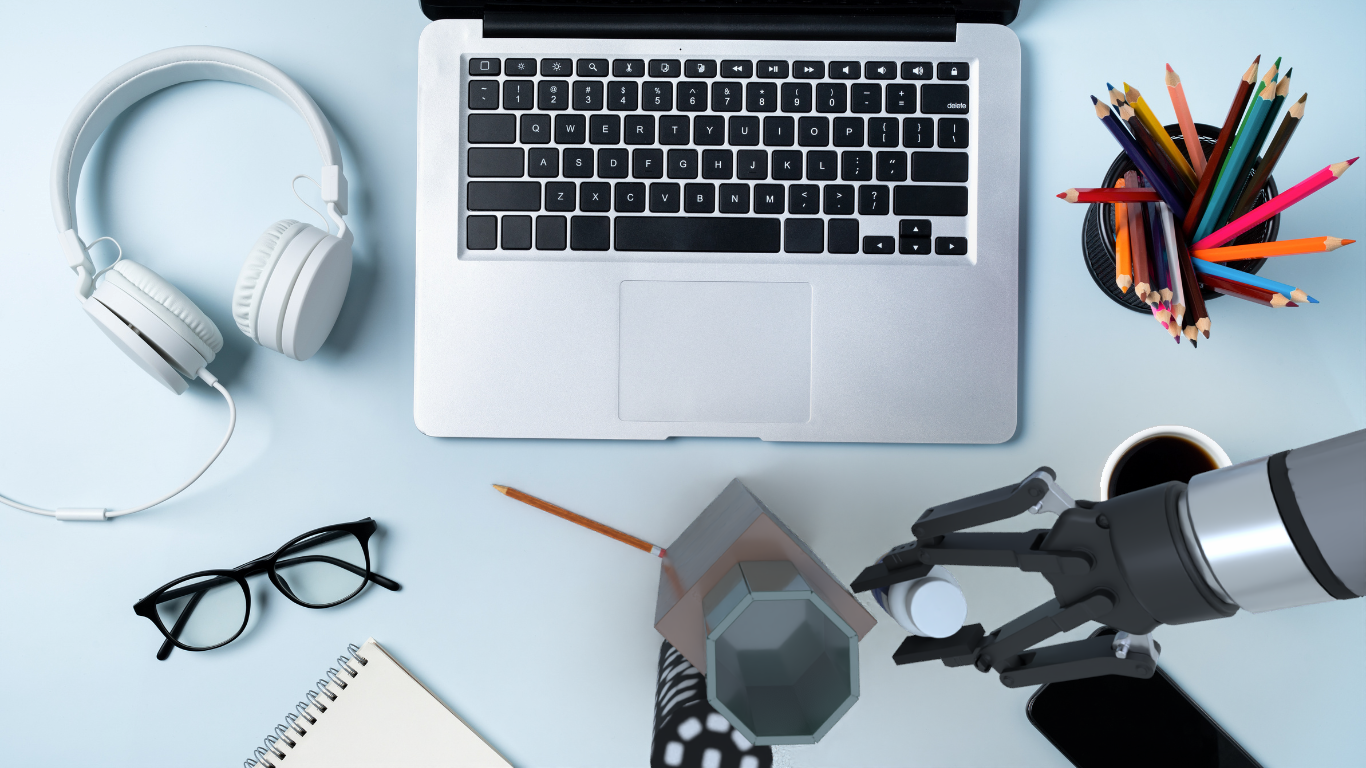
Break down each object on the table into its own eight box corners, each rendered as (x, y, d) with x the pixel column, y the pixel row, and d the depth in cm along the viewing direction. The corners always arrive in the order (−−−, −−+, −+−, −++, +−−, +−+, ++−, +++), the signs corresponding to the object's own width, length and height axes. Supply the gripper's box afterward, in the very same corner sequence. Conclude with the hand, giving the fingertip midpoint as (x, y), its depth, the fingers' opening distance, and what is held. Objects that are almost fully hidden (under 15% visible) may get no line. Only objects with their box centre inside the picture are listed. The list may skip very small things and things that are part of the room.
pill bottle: (911, 534, 63) (952, 555, 54) (944, 591, 63) (992, 623, 53) (854, 567, 63) (886, 595, 53) (888, 624, 63) (925, 662, 53)
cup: (855, 622, 48) (890, 665, 40) (768, 716, 48) (785, 777, 40) (763, 534, 48) (780, 559, 40) (675, 626, 48) (674, 670, 40)
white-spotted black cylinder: (738, 714, 72) (761, 833, 52) (650, 698, 72) (639, 811, 52) (754, 626, 72) (783, 710, 52) (666, 610, 72) (662, 688, 52)
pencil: (664, 558, 72) (664, 559, 72) (489, 487, 72) (487, 488, 72) (667, 550, 72) (667, 551, 72) (492, 479, 72) (490, 480, 72)
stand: (812, 550, 72) (878, 622, 48) (739, 628, 72) (768, 738, 48) (735, 477, 72) (763, 511, 48) (662, 554, 72) (653, 627, 48)
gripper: (1308, 652, 44) (962, 691, 60) (1138, 375, 45) (842, 488, 61) (1301, 738, 39) (924, 756, 55) (1108, 423, 39) (793, 533, 56)
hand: (881, 615), depth 58 cm, fingers closed on pill bottle, 5 cm apart
